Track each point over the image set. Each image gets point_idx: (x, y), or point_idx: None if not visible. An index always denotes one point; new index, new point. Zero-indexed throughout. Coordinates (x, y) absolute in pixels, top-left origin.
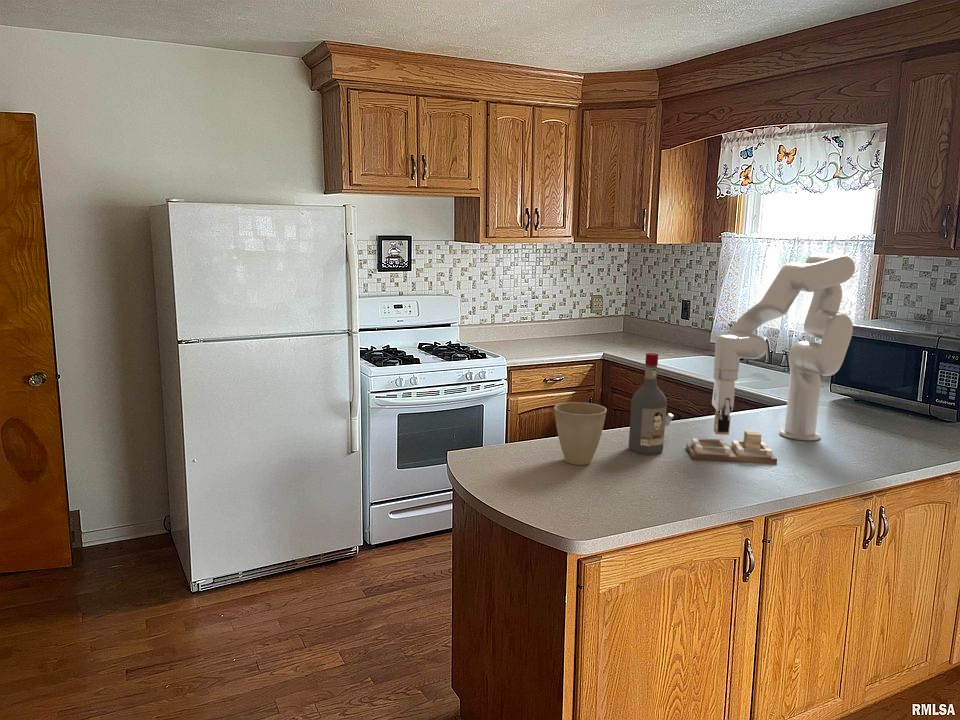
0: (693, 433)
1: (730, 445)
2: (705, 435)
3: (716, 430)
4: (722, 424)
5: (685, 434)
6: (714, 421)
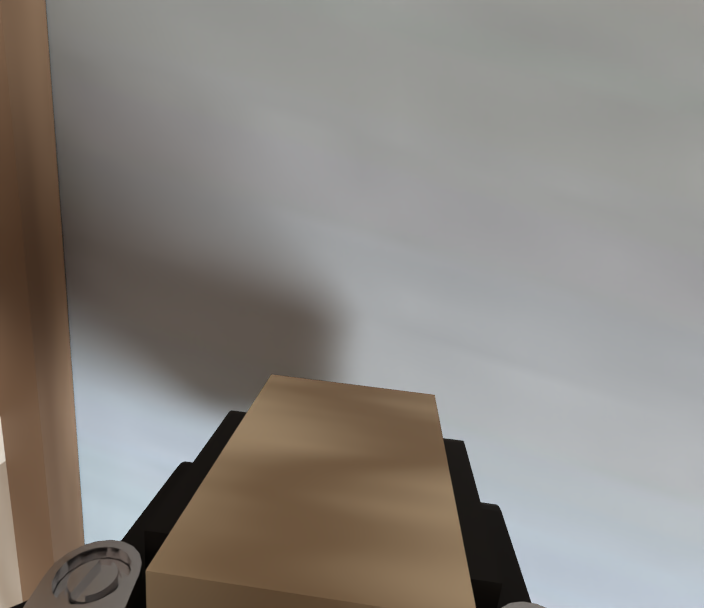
0: (660, 189)
1: (26, 417)
2: (564, 312)
3: (257, 397)
4: (142, 520)
5: (621, 62)
6: (442, 473)
